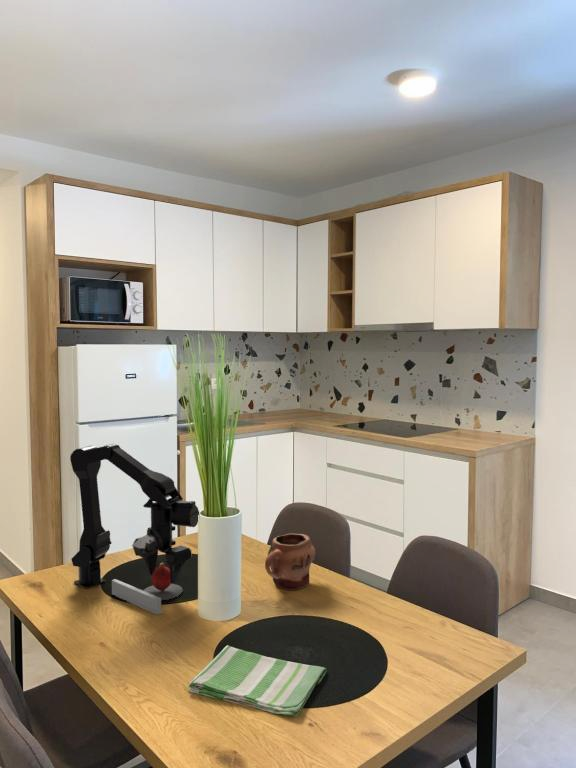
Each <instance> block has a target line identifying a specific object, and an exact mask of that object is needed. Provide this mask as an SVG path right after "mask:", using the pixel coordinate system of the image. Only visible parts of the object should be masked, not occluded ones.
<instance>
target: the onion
mask: <svg viewBox="0 0 576 768" xmlns="http://www.w3.org/2000/svg"><path fill="white" fill-rule="evenodd" d="M150 576H151V578H150V579H151V585H153V586H154V587H155V588H156V589H158V590H160V591H164V590H165V589H166V588H168V587H169V586H170V584H172V583H171V579H170V568H169V567H167V566H165V563H164V562H161V563H159V565H158V567H156V568H155V570H154V572H153V574H152V575H150Z"/></svg>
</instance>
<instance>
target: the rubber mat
mask: <svg viewBox="0 0 576 768" xmlns="http://www.w3.org/2000/svg"><path fill="white" fill-rule="evenodd" d="M142 590H143V591H145V592H148V593H150V594H152V595H155V596H157V597H160V598H161V602H163V601H162V600H167V601H170V600H169V599H172V598H175V597H177V598H179V597H180V596H181V595H182V594H183V593H184V591H183V590H184V589H183V587H182V586H180V585H178V584H176V583H173V584H172V583H171V584H170V586H169V587H168V588H166V589H165V590H164V591H160V590H158V589H156V588H155V587H154V586H153V584H151V586H150V585H149V586H148V587H146V588H145V589H142ZM182 592H183V593H182ZM181 593H182V594H181ZM180 594H181V595H180ZM179 595H180V596H179ZM178 596H179V597H178ZM175 599H176V598H175ZM172 600H173V599H172Z"/></svg>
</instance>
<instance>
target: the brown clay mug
mask: <svg viewBox="0 0 576 768" xmlns="http://www.w3.org/2000/svg"><path fill="white" fill-rule="evenodd" d="M315 556H316V549H315V547H314V545H313V544H312V541H311V538H310V536H309V535H306V534H305V533H304V534H303V533H287V534H283V535H278V536H276V537H274V538H273V539H272V542H271V545H270V547H269V550H268V552H267V557H266V558H265V562H264V564H265V565H264V567H265V571H266V573H267V575H269V576H270V577H272V582H273V584H274V585H275V586H276V587H277V588H280V589H284V590H290V591H292V590H293V591H294V590H298V589H302V588H304V587H306V586H307V585H308V584H309V583H310V567H311V565H312V563H313V561H314V560H315V558H316V557H315Z"/></svg>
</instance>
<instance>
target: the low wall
mask: <svg viewBox="0 0 576 768" xmlns="http://www.w3.org/2000/svg"><path fill="white" fill-rule="evenodd" d="M143 590H144V589H140V588H137V587H135V586H134V585H131V584H128V583H125V582H123V581H121V580H119V579H116V578H114V579H112V580H111V595H113V596H114V595H115V597H117V598H119V599H121V600H124V601H125V600H126V602H128V603H131V604H132V605H134V606H137V607H139V608H141V609H143V610H145V609H146V611H148V612H150V613H152V614H154V615H157V616H158V615H160V614H162V601H161V598H160V597H157V596H155V595H152V594H150V593H148V592H145V591H143Z"/></svg>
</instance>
